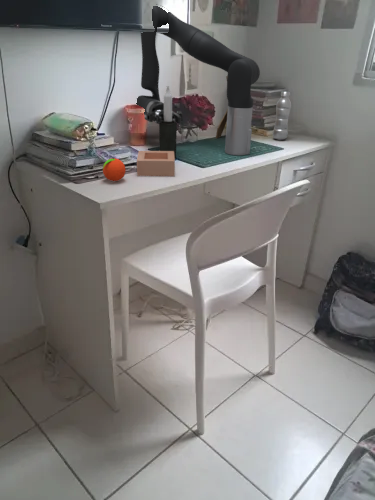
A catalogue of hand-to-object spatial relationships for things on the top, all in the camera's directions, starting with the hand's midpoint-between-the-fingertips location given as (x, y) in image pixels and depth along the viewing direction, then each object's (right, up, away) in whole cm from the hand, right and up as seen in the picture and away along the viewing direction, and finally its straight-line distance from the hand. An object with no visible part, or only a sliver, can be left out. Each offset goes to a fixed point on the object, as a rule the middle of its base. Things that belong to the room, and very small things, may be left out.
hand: (169, 120), depth 139 cm
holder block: (-4, -18, -5) cm, 19 cm away
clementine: (-17, -24, -15) cm, 33 cm away
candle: (-1, -11, +9) cm, 14 cm away
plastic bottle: (+47, +4, +40) cm, 62 cm away
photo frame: (+26, +7, +44) cm, 51 cm away
